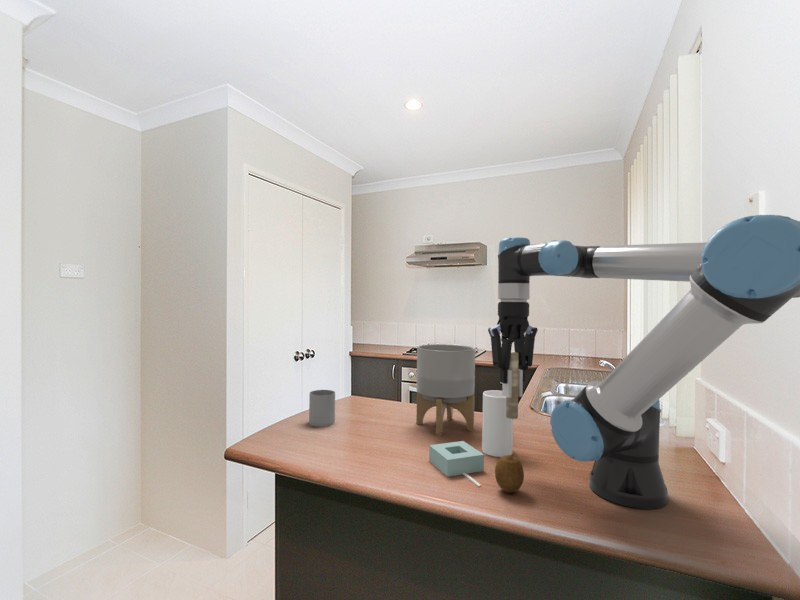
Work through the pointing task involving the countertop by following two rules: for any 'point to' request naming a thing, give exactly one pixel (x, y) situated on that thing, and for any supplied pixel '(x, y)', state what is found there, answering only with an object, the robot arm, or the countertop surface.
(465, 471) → the bead
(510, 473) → the fruit
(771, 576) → the countertop surface
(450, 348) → the planter
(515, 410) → the beige wooden dowel
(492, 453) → the cup
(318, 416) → the cup
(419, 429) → the countertop surface
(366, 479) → the countertop surface
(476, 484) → the cream stick
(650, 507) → the robot arm
